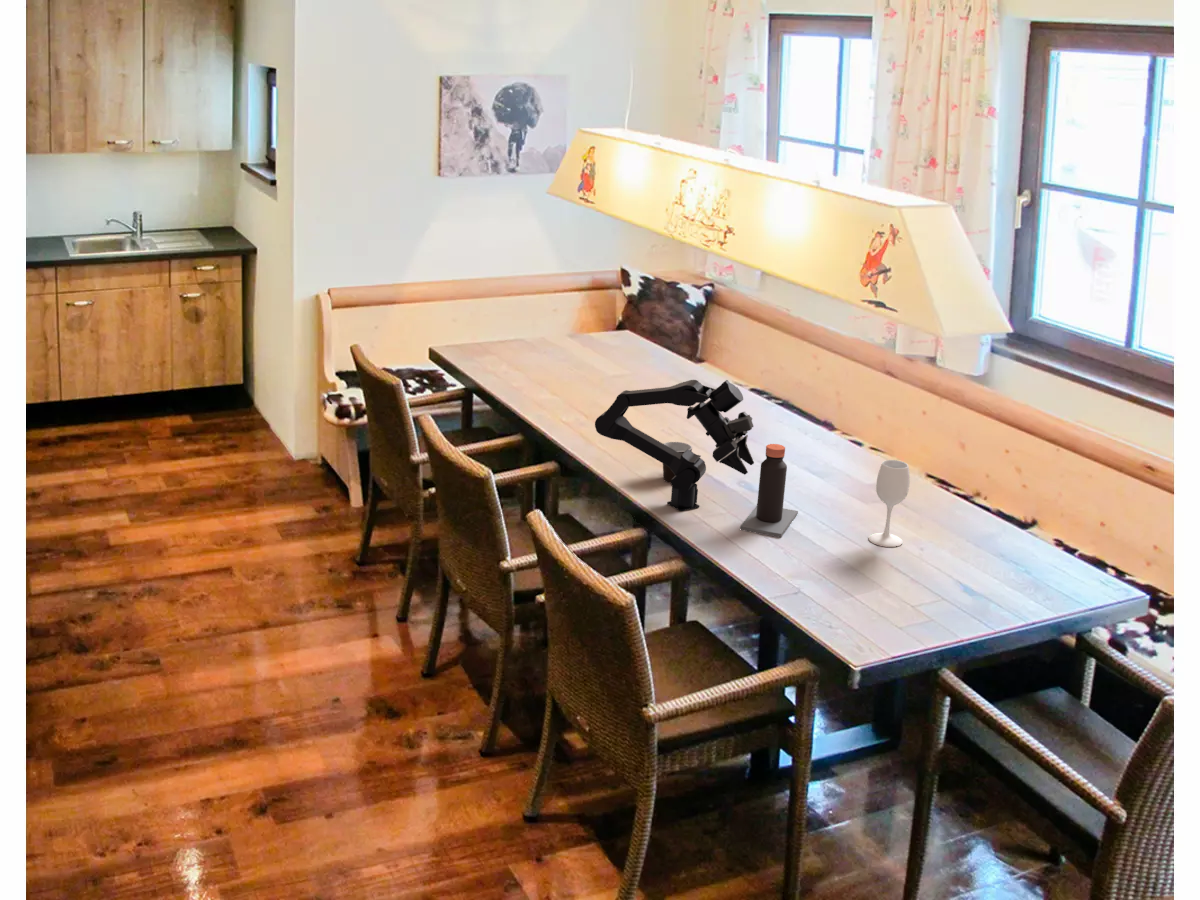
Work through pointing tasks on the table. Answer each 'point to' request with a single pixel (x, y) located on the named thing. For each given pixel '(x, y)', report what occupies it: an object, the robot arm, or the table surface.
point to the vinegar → (772, 485)
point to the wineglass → (891, 496)
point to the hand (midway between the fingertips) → (749, 468)
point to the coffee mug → (677, 447)
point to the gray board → (769, 528)
